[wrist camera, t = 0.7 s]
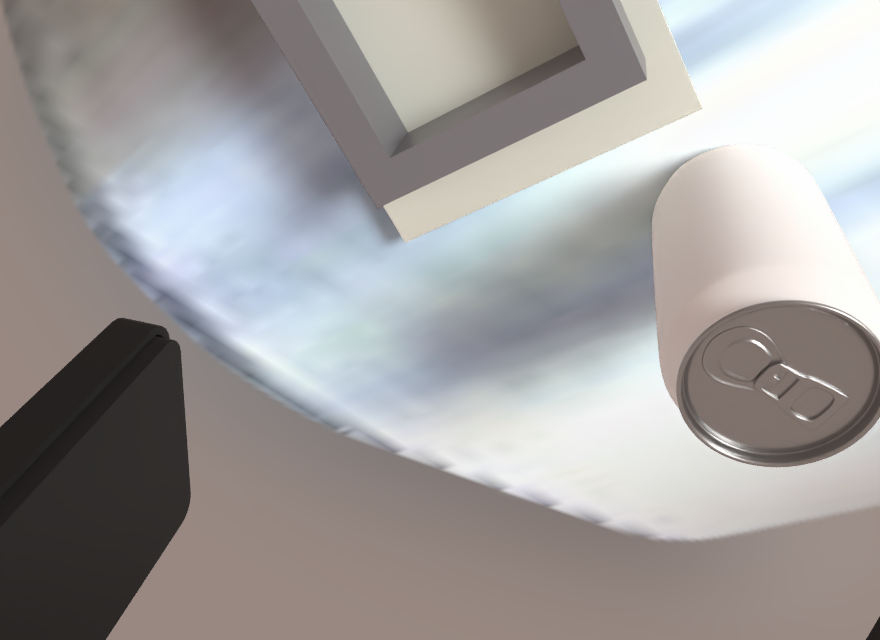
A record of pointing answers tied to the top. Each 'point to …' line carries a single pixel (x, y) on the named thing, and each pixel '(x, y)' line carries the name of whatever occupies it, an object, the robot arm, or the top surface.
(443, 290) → the top surface
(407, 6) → the socket board
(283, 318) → the top surface
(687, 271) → the can
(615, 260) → the top surface
